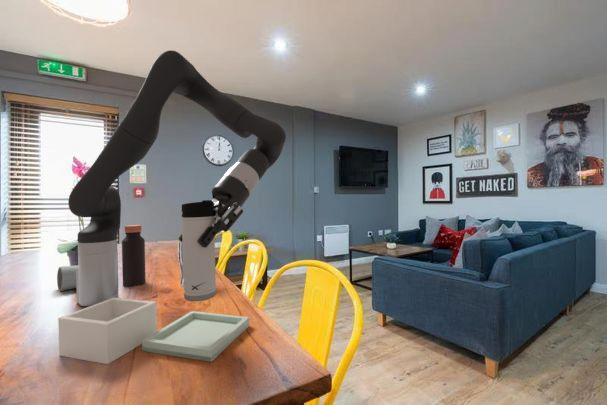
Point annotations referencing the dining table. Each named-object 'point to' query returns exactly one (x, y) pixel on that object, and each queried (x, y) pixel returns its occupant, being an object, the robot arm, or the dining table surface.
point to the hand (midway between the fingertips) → (191, 243)
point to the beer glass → (181, 261)
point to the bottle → (133, 257)
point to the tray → (197, 335)
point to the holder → (106, 329)
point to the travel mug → (198, 252)
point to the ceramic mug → (66, 277)
